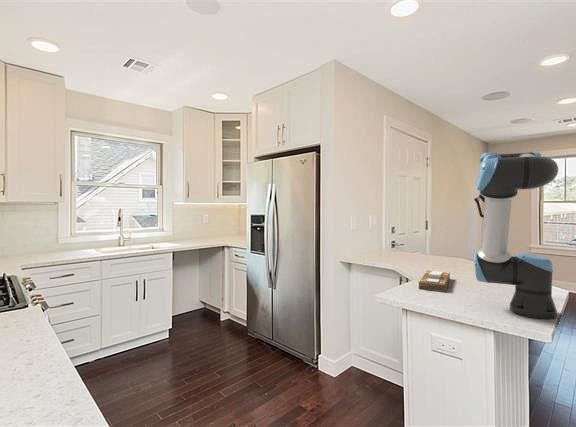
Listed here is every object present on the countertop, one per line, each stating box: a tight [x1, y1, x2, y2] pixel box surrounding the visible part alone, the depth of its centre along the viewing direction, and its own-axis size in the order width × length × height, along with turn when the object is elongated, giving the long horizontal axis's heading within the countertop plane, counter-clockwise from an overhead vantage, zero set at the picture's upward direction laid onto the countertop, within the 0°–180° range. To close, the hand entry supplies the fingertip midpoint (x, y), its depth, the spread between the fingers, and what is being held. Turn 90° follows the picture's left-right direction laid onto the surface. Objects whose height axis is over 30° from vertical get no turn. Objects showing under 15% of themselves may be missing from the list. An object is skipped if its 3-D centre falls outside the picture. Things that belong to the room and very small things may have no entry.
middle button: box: [429, 272, 441, 279], centre depth 174 cm, size 5×5×3 cm
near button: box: [427, 278, 439, 283], centre depth 166 cm, size 5×5×3 cm
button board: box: [418, 270, 451, 293], centre depth 174 cm, size 30×12×4 cm, turn 149°
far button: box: [431, 270, 444, 275], centre depth 183 cm, size 5×5×3 cm
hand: (488, 231), depth 162 cm, fingers closed
